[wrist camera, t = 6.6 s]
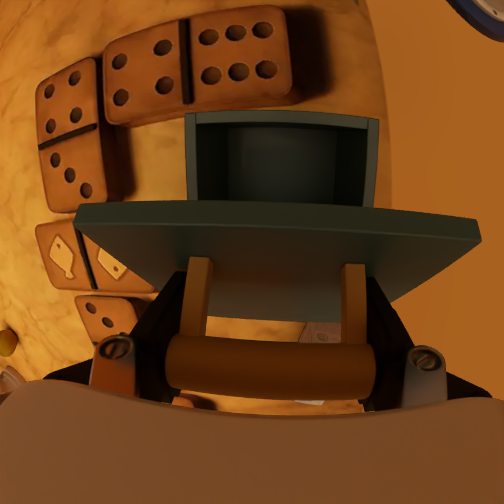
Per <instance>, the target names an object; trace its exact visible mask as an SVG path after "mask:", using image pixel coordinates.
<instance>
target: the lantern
mask: <svg viewBox="0 0 504 504" xmlns="http://www.w3.org/2000/svg"><path fill="white" fill-rule="evenodd" d="M0 379H1V380H0V394H2V393H5V392H9V391H12V390H15V389H16V388H18V387H19V386H20V385H22V384H24V383H26V381H25V380H24V379H23V377H22V376H21V375H20V374H19V373H18V372H17V371H16V370H15V369H14V368H12V367H10V366H8V367H7V368H5V369H4V371H3V372H2V373H1V374H0Z"/></svg>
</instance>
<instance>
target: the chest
mask: <svg viewBox="0 0 504 504" xmlns="http://www.w3.org/2000/svg"><path fill="white" fill-rule="evenodd" d="M378 140H379V119H373V118H367V117H359V116H351V115H343V114H333V113H322V112H308V111H288V110H229V111H209V112H196V113H185V157H186V181H187V199H188V200H225V201H268V202H294V203H314V204H331V205H346V206H359V207H372V208H373V203H374V193H375V183H376V172H377V158H378Z"/></svg>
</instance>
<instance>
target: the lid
mask: <svg viewBox="0 0 504 504" xmlns="http://www.w3.org/2000/svg"><path fill="white" fill-rule="evenodd" d="M73 225H74V226H75V227H76V228H77V229H79V230H80V231H81V232H82V233H83V234H85V235H86V236H87V237H88V238H90V239H91V240H92V241H93V242H95V243H96V244H97V245H98V246H100V247H101V248H102V249H103V250H105V251H106V252H107V253H109V254H110V255H111V256H113V257H114V258H115V259H117V260H118V261H119V262H120V263H122V264H123V265H125V266H126V267H127V268H129V269H130V270H131V271H133V272H134V273H135V274H137V275H138V276H140V277H141V278H142V279H144V280H145V281H146V282H148V283H149V284H151V285H152V286H154V287H155V288H156V289H158V290H159V291H161V290H162V289H163V287H164V286H165V285H166V283H167V282H168V280H169V279H170V278H171V276H172V275H173V274H174V272H175V271H187V277H186V284H185V291H184V298H183V305H182V313H181V321H180V329H179V333H177V334H175V335H174V336H173V337H172V338H171V340H170V342H169V345H168V348H167V352H166V358H165V375H166V380H167V382H168V384H169V385H170V386H171V387H173V388H177V389H183V390H189V391H195V392H202V393H209V394H217V395H225V396H234V397H244V398H256V399H272V400H298V401H329V400H355V399H365V398H367V397H369V396H370V394H371V392H372V390H373V387H374V383H375V377H376V359H375V353H374V350H373V348H372V346H371V345H370V344H368V343H367V302H366V277H374V278H375V279H376V281H377V282H378V284H379V286H380V287H381V289H382V291H383V292H384V294H385V296H386V297H387V299H388V301H389V303H391V302H393V301H394V300H396V299H398V298H399V297H401V296H403V295H404V294H406V293H408V292H409V291H411V290H412V289H414V288H416V287H417V286H419V285H421V284H422V283H424V282H425V281H427V280H428V279H430V278H431V277H433V276H434V275H436V274H437V273H439V272H441V271H442V270H443V269H445V268H446V267H448V266H449V265H451V264H452V263H453V262H455V261H456V260H458V259H459V258H461V257H462V256H463V255H465V254H466V253H468V252H469V251H470V250H472V249H473V248H474V247H476V246H477V245H478V244H479V243H481V241H482V239H481V234H480V231H479V226H478V222H477V220H476V219H470V218H462V217H455V216H448V215H439V214H431V213H423V212H414V211H404V210H394V209H383V208H372V207H359V206H346V205H331V204H314V203H294V202H268V201H225V200H170V201H128V202H104V203H85V204H80V205H79V207H78V210H77V212H76V215H75V218H74V221H73ZM207 316H215V317H227V318H241V319H256V320H273V321H296V322H337V323H341V343H300V342H276V341H258V340H244V339H232V338H221V337H211V336H205V332H206V323H207Z"/></svg>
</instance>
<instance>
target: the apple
mask: <svg viewBox="0 0 504 504" xmlns="http://www.w3.org/2000/svg"><path fill="white" fill-rule="evenodd" d="M16 345H17V337H16V335H15V334H14V333H13V332H12V331H10V330H2V331H0V355H1V356H3V357H9V356H10V355H12V354H13V352H14V351H15V349H16Z"/></svg>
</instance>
